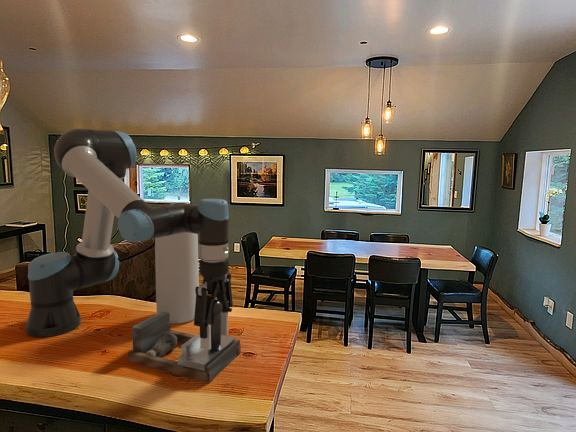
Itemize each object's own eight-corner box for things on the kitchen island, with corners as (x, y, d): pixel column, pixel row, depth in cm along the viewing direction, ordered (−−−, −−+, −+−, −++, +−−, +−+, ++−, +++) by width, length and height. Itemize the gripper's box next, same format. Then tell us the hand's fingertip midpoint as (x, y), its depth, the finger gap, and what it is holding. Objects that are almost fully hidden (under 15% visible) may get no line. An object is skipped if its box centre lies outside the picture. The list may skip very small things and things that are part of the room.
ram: (177, 372, 101) (175, 306, 98) (211, 345, 116) (210, 287, 113) (204, 380, 98) (204, 312, 95) (236, 351, 113) (236, 291, 110)
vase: (181, 305, 147) (179, 222, 142) (208, 315, 138) (207, 227, 133) (148, 317, 135) (144, 227, 130) (175, 329, 127) (172, 233, 122)
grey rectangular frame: (127, 361, 107) (126, 330, 106) (166, 336, 122) (165, 308, 120) (209, 383, 98) (209, 349, 96) (240, 353, 112) (240, 323, 111)
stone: (149, 367, 106) (172, 348, 106) (137, 352, 106) (160, 332, 107) (163, 358, 115) (183, 340, 116) (151, 344, 116) (172, 326, 116)
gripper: (203, 271, 91) (204, 362, 94) (245, 251, 110) (245, 328, 113) (176, 267, 93) (178, 356, 97) (222, 248, 112) (222, 323, 116)
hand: (214, 341), depth 105 cm, fingers open, 8 cm apart
